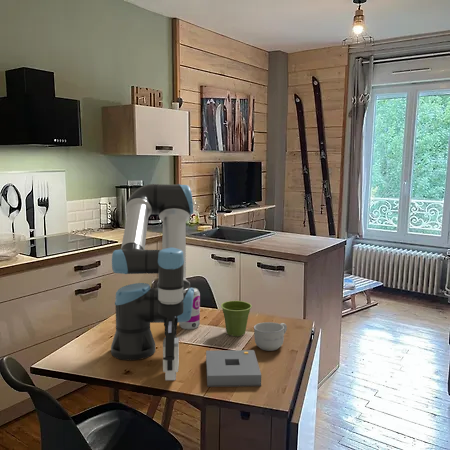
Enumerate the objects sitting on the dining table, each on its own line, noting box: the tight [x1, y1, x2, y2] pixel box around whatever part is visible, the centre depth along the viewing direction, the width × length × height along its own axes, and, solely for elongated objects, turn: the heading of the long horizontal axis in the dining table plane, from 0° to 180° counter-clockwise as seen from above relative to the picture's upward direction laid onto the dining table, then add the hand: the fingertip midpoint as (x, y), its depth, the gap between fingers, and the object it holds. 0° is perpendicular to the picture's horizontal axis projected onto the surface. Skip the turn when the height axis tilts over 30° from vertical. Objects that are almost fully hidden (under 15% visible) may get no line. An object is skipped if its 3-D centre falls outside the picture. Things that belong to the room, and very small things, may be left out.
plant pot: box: [220, 300, 253, 337], centre depth 178 cm, size 12×12×11 cm
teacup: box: [253, 321, 288, 352], centre depth 166 cm, size 14×11×8 cm
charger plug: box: [162, 337, 180, 381], centre depth 141 cm, size 4×4×12 cm
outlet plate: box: [205, 349, 262, 388], centre depth 146 cm, size 16×18×4 cm
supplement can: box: [178, 287, 201, 330], centre depth 185 cm, size 8×8×15 cm
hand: (170, 371), depth 142 cm, fingers open, 9 cm apart
